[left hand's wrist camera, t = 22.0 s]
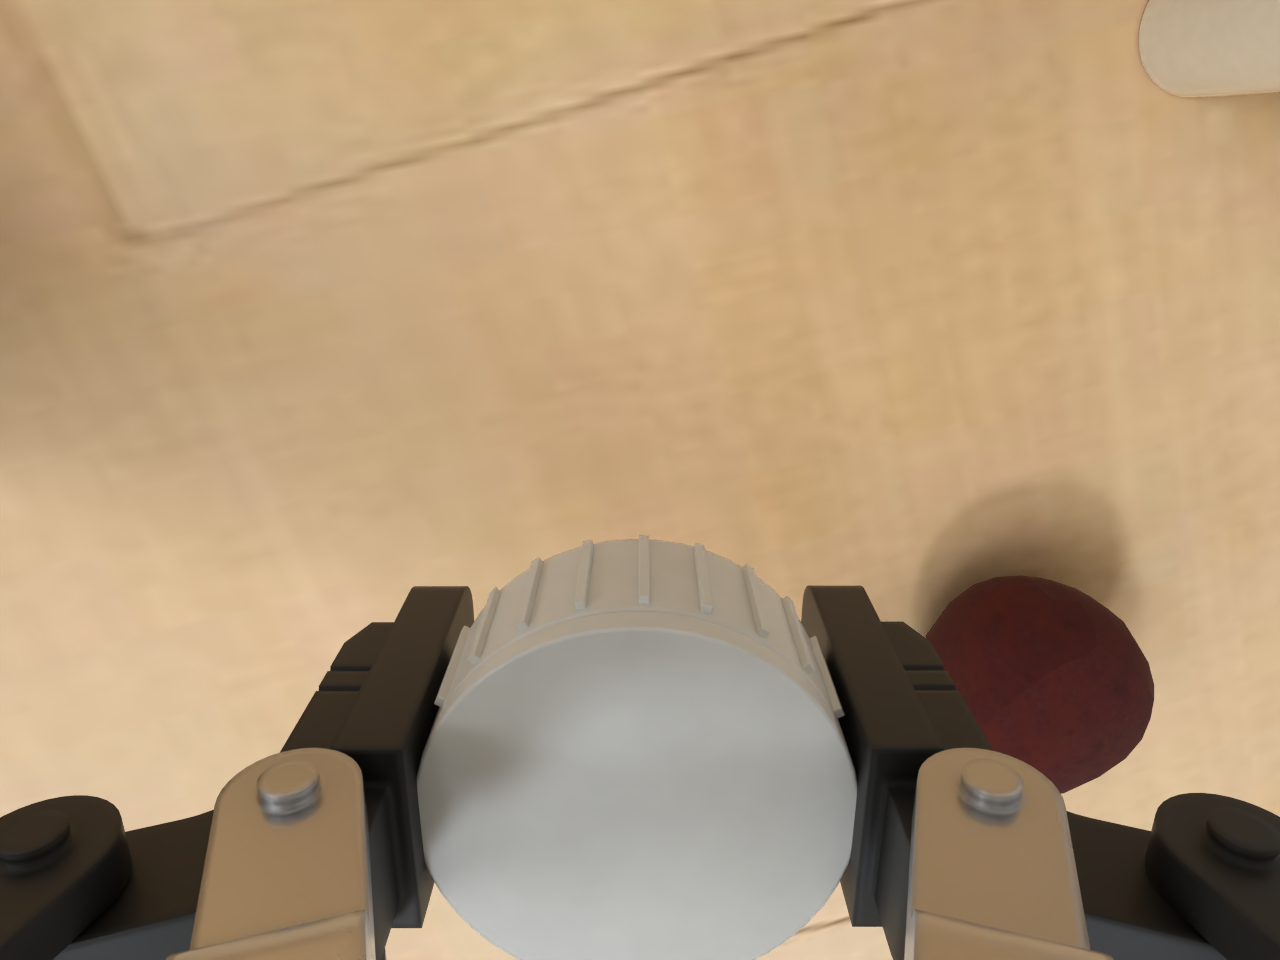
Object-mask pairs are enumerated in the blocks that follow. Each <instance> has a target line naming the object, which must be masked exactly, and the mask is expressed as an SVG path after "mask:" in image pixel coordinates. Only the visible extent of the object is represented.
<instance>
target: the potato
mask: <svg viewBox="0 0 1280 960" xmlns="http://www.w3.org/2000/svg"><path fill="white" fill-rule="evenodd" d="M926 639H927V640H928V641H930V642H931V644H932V646H933V647H934V649H935V651H936V653H937V654H938V656H939V658H940V659H941V661H942V663H943V665H944V670H947V672H948V673H949V675H950V677H951V678H952V680H953V682H954V684H955V689H956V690H958V691H959V692H960V694H961V696H962V697H963V699H964V701H965V703H966V704H967V706H968V708H969V710H970V711H971V713H972V715H973V716H974V718H975V720H976V722H977V723H978V725H979V727H980V729H981V730H982V732H983V734H984V735H985V737H986V739H987V741H988V742H989V744H990V746H991V748H992V749H993V751H995V752H999V753H1002V754H1006V755H1009V756H1011V757H1014V758H1016V759H1018V760H1021V761H1023V762H1025V763H1027V764H1028V765H1030V766H1032V767H1034V768H1035V769H1036V770H1038V771H1039V772H1041V773H1042V774H1043V775H1045V776H1046V777H1047V778H1048V779H1049V780H1050V781H1051V782H1052V783H1053V784H1054V785H1055V787H1056V788H1057V789H1058V790H1059V792H1060V794H1061V793H1065V792H1067V791H1069V790H1072V789H1074V788H1076V787H1078V786H1080V785H1082V784H1084V783H1087V782H1089V781H1091V780H1093V779H1095V778H1097V777H1099V776H1101V775H1102V774H1104V773H1105V772H1107V771H1108V770H1110V769H1111V768H1112V767H1114V766H1115V765H1117V764H1118V763H1120V762H1121V761H1123V760H1124V759H1125V758H1126V757H1127V756H1128V755H1129V754H1130V753H1131V751H1132V750H1133V749H1134V748H1135V747H1136V745H1137V744H1138V743H1139V742H1140V741H1141V740H1142V737H1143V735H1144V733H1145V730H1146V728H1147V725H1148V723H1149V721H1150V718H1151V713H1152V707H1153V702H1154V683H1153V679H1152V675H1151V671H1150V667H1149V663H1148V661H1147V660H1146V658H1145V656H1144V654H1143V653H1142V651H1141V649H1140V648H1139V646H1138V644H1137V642H1136V641H1135V639H1134V638H1133V636H1132V634H1131V633H1130V631H1129V630H1128V628H1127V627H1126V625H1125V623H1124V622H1123V621H1122V620H1121V619H1119V618H1118V617H1117V616H1116V615H1115V614H1113V613H1112V612H1111V611H1110V610H1109V609H1107V608H1106V607H1104V606H1103V605H1101V604H1100V603H1098V602H1097V601H1095V600H1094V599H1092V598H1091V597H1090V596H1088V595H1086V594H1084V593H1082V592H1081V591H1079V590H1077V589H1075V588H1072V587H1069V586H1066V585H1063V584H1060V583H1057V582H1054V581H1051V580H1047V579H1042V578H1035V577H1027V576H1009V577H996V578H993V579H990V580H987V581H984V582H981V583H978V584H975V585H973V586H972V587H970V588H969V589H968V590H966V591H965V592H964V593H962V594H961V595H960V596H958V597H957V598H956V599H954V600H953V601H952V602H950V603H949V604H948V606H947V607H946V609H945V610H944V611H943V613H942V614H941V616H940V617H939V618H938V620H937V621H936V623H935V624H934V625H933V627H932V628H931V630H930V631H929V633H928V634H927V635H926Z"/></svg>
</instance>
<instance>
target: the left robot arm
mask: <svg viewBox="0 0 1280 960" xmlns="http://www.w3.org/2000/svg"><path fill="white" fill-rule="evenodd" d="M473 623H474V612H473V601H472V595H471V591H470V588H469V587H468V586H415V587H413V588H412V589H411V591H410V592H409V594H408V596H407V598H406V600H405V602H404V604H403V606H402V608H401V610H400V612H399V614H398V616H397V618H396V620H395V622H372V623H371V624H369V625H368V626H367V627H365V628H364V629H363V630H361V631H360V632H359V633H357V634H356V635H354V636H353V637H352V638H350V639H349V640H348V641H346V642H345V643H344V644H343V646H342V648H341V650H340V651H339V653H338V655H337V656H336V658H335V660H334V661H333V663H332V665H331V670H330V671H328V672H327V673H326V675H325V677H324V679H323V680H322V682H321V684H320V685H319V691H316V692H315V694H314V696H313V697H312V699H311V701H310V702H309V704H308V706H307V707H306V709H305V711H304V713H303V714H302V716H301V718H300V719H299V721H298V723H297V724H296V726H295V728H294V730H293V731H292V733H291V735H290V736H289V738H288V740H287V741H286V743H285V745H284V747H283V748H282V750H281V752H280V753H278V754H274V755H271V756H269V757H266V758H264V759H262V760H259V761H257V762H255V763H253V764H252V765H250V766H248V767H246V768H245V769H244V770H242V771H241V772H239V773H238V774H237V775H235V776H234V777H233V778H232V779H231V780H230V781H229V782H228V783H227V784H226V785H225V787H224V788H223V789H222V790H221V792H220V794H219V796H218V797H217V800H216V803H215V807H214V810H212V811H209V812H206V813H203V814H200V815H198V816H194V817H190V818H186V819H182V820H178V821H173V822H169V823H164V824H160V825H155V826H150V827H146V828H141V829H137V830H132V831H128V832H125V830H124V826H123V822H122V818H121V815H120V813H119V810H118V809H117V808H116V807H115V806H114V805H113V804H112V803H110V802H109V801H107V800H104V799H101V798H98V797H92V796H65V797H58V798H53V799H48V800H44V801H41V802H37V803H34V804H31V805H28V806H25V807H23V808H20V809H18V810H15V811H13V812H11V813H9V814H7V815H4V816H3V817H1V818H0V960H387V959H386V951H385V945H386V942H387V939H388V936H389V933H390V929H391V928H422V925H423V921H424V918H425V914H426V910H427V907H428V903H429V900H430V896H431V892H432V889H433V885H434V880H433V878H432V876H431V875H430V873H429V871H428V868H427V866H426V863H425V857H424V850H423V840H422V831H421V821H420V812H419V803H418V793H417V780H416V779H417V772H418V768H419V764H420V761H421V757H422V754H423V751H424V748H425V745H426V743H427V740H428V737H429V735H430V731H431V729H432V726H433V723H434V720H435V717H436V715H437V712H438V709H439V706H437V705H435V704H434V702H435V700H436V697H437V694H438V692H439V689H440V686H441V684H442V681H443V678H444V675H445V673H446V670H447V667H448V665H449V662H450V659H451V657H452V654H453V651H454V648H455V646H456V643H457V640H458V638H459V635H460V632H461V630H462V629H463V627H464V626H467V627H469V628H471V626H472V624H473ZM801 623H802V625H803V626H804V628H805V630H806V632H807V634H808V636H809V638H811V637H814V636H816V637H817V639H818V641H819V644H820V646H821V649H822V652H823V655H824V658H825V661H826V663H827V666H828V669H829V672H830V675H831V677H832V680H833V683H834V686H835V689H836V692H837V694H838V697H839V700H840V703H841V706H842V709H843V711H844V714H845V716H843V717H840V718H838V720H839V723H840V726H841V729H842V732H843V735H844V738H845V741H846V744H847V747H848V750H849V753H850V756H851V758H852V761H853V764H854V767H855V771H856V777H857V799H856V809H855V818H854V828H853V838H852V847H851V854H850V860H849V863H848V865H847V867H846V869H845V871H844V873H843V875H842V877H841V879H840V882H841V886H842V890H843V894H844V897H845V901H846V905H847V908H848V912H849V916H850V920H851V923H852V927H883V929H884V932H885V936H886V939H887V942H888V945H889V949H890V952H891V955H892V957H893V960H1280V817H1279V816H1277V815H1275V814H1273V813H1271V812H1269V811H1267V810H1265V809H1262V808H1260V807H1258V806H1255V805H1253V804H1250V803H1247V802H1245V801H1241V800H1238V799H1234V798H1231V797H1226V796H1221V795H1216V794H1207V793H1188V794H1181V795H1177V796H1174V797H1171V798H1169V799H1167V800H1166V801H1164V802H1163V803H1162V804H1161V805H1160V806H1159V807H1158V810H1157V812H1156V815H1155V819H1154V823H1153V827H1152V831H1147V830H1142V829H1138V828H1133V827H1129V826H1124V825H1120V824H1115V823H1110V822H1106V821H1101V820H1097V819H1092V818H1088V817H1084V816H1080V815H1077V814H1074V813H1071V812H1068V811H1066V807H1065V803H1064V800H1063V797H1062V796H1061V794H1060V792H1059V790H1058V789H1057V788H1056V787H1055V785H1054V784H1053V783H1052V782H1051V781H1050V780H1049V779H1048V778H1047V777H1046V776H1045V775H1043V774H1042V773H1041V772H1039V771H1038V770H1036V769H1035V768H1034V767H1032V766H1030V765H1028V764H1027V763H1025V762H1023V761H1021V760H1018V759H1016V758H1014V757H1011V756H1009V755H1006V754H1002V753H999V752H995V751H993V749H992V748H991V746H990V744H989V742H988V741H987V739H986V737H985V735H984V734H983V732H982V730H981V729H980V727H979V725H978V723H977V722H976V720H975V718H974V716H973V715H972V713H971V711H970V710H969V708H968V706H967V704H966V703H965V701H964V699H963V697H962V696H961V694H960V692H959V691H958V690H956V689H955V684H954V682H953V680H952V678H951V677H950V675H949V673H948V672H947V670H944V665H943V663H942V661H941V659H940V658H939V656H938V654H937V653H936V651H935V649H934V647H933V646H932V644H931V642H930V641H928V640H927V639H926V638H924V637H923V636H922V635H920V634H919V633H918V632H916V631H915V630H913V629H912V628H911V627H909V626H908V625H907V624H905V623H904V622H881V621H880V619H879V617H878V615H877V613H876V611H875V609H874V607H873V605H872V603H871V601H870V599H869V597H868V595H867V593H866V591H865V590H864V588H863V587H862V586H807V587H806V589H805V592H804V597H803V606H802V619H801Z"/></svg>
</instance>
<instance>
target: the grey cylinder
mask: <svg viewBox="0 0 1280 960" xmlns="http://www.w3.org/2000/svg"><path fill="white" fill-rule="evenodd" d="M1139 52H1140V57H1141V61H1142V63H1143V66H1144V69H1145V70H1146V72H1147V74H1148V76H1149V77H1150V78H1151V80H1152V81H1153V82H1154V83H1155V84H1156V85H1157V86H1158V87H1159V88H1161V89H1162V90H1164V91H1165V92H1167V93H1170V94H1172V95H1175V96H1179V97H1185V98H1200V97H1215V96H1231V95H1246V94H1262V93H1277V92H1280V0H1149V2H1148V4H1147V6H1146V8H1145V11H1144V14H1143V17H1142V20H1141V24H1140V30H1139Z"/></svg>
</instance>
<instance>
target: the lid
mask: <svg viewBox="0 0 1280 960" xmlns="http://www.w3.org/2000/svg"><path fill="white" fill-rule="evenodd" d="M434 704H435V705H437V706H439V709H438V712H437V715H436V717H435V720H434V723H433V726H432V729H431V731H430V735H429V737H428V740H427V743H426V745H425V748H424V751H423V754H422V757H421V761H420V764H419V768H418V772H417V779H416V780H417V793H418V803H419V812H420V821H421V831H422V840H423V850H424V857H425V863H426V866H427V868H428V871H429V873H430V875H431V876H432V878H433V880H434V882H435V883H436V885H437V887H438V889H439V890H440V892H441V893H442V895H443V896H444V897H445V899H446V900H447V901H448V902H449V904H450V905H451V906H452V908H453V909H454V910H455V911H456V912H457V913H458V914H459V915H460V916H461V917H462V918H463V919H464V920H465V921H466V922H467V923H468V924H469V925H470V926H471V927H472V928H473V929H474V930H475V931H476V932H478V933H479V934H480V935H482V936H483V937H484V938H485V939H487V940H488V941H489V942H491V943H492V944H493V945H495V946H497V947H498V948H500V949H502V950H503V951H505V952H507V953H508V954H510V955H512V956H513V957H515V958H517V959H519V960H755V959H757V958H759V957H761V956H763V955H765V954H767V953H768V952H770V951H771V950H773V949H774V948H776V947H777V946H779V945H780V944H782V943H783V942H785V941H786V940H788V939H789V938H790V937H792V936H793V935H794V934H795V933H796V932H797V931H799V930H800V929H801V928H802V927H803V926H805V925H806V924H807V923H808V922H809V921H810V920H811V919H812V917H813V916H814V915H815V914H816V913H817V912H818V911H819V910H820V909H821V908H822V907H823V905H824V904H825V903H826V901H827V900H828V898H829V897H830V896H831V894H832V893H833V891H834V890H835V888H836V887H837V885H838V883H839V881H840V879H841V877H842V875H843V873H844V871H845V869H846V867H847V865H848V863H849V860H850V854H851V847H852V838H853V828H854V818H855V809H856V799H857V777H856V771H855V767H854V764H853V761H852V758H851V756H850V753H849V750H848V747H847V744H846V741H845V738H844V735H843V732H842V729H841V726H840V723H839V720H838V718H840V717H843V716H845V714H844V711H843V709H842V706H841V703H840V700H839V697H838V694H837V692H836V689H835V686H834V683H833V680H832V677H831V675H830V672H829V669H828V666H827V663H826V661H825V658H824V655H823V652H822V649H821V646H820V644H819V641H818V639H817V637H816V636H814V637H811V638H809V636H808V634H807V632H806V630H805V628H804V626H803V625H802V623H801V622H800V620H799V619H798V616H797V613H796V610H795V607H794V604H793V601H792V600H791V599H790V598H789V597H788V596H786V597H785V598H784V599H782V598H781V597H780V596H779V595H778V594H777V593H776V592H775V591H774V590H773V589H772V588H771V587H770V586H768V585H767V584H766V583H765V582H763V581H762V580H761V579H759V578H758V577H757V576H756V575H755V572H754V568H753V567H751V566H749V565H748V564H746V565H745V566H744V567H741V566H739V565H738V564H736V563H734V562H732V561H730V560H728V559H725V558H723V557H721V556H718V555H716V554H714V553H711V552H709V551H706V550H705V549H704V545H702V544H698V543H695V545H694V547H692V546H688V545H685V544H680V543H673V542H667V541H661V540H649V536H648V535H639V539H627V540H615V541H605V542H600V543H595V544H593V541H592V540H588V541H584V542H583V546H581V547H578V548H575V549H572V550H569V551H566V552H563V553H560V554H557V555H555V556H553V557H551V558H549V559H547V560H545V561H543V562H542V560H541V559H540V558H537V559H536V560H534V561H532V563H531V567H530V569H528V570H527V571H525V572H524V573H522V574H520V575H519V576H517V577H516V578H514V579H513V580H512V581H511V582H510V583H508V584H507V585H506V586H505V587H504V588H503V589H502V590H499V589H498V588H496V587H495V588H494V589H493V590H492V591H491V592H490V594H489V597H488V600H487V603H486V606H485V607H484V609H483V610H482V611H481V612H480V614H479V615H478V617H477V618H476V620H475V621H474V623H473V624H472V626H471V628H469V627H467V626H464V627H463V629H462V630H461V632H460V635H459V638H458V640H457V643H456V646H455V648H454V651H453V654H452V657H451V659H450V662H449V665H448V667H447V670H446V673H445V675H444V678H443V681H442V684H441V686H440V689H439V692H438V694H437V697H436V700H435V702H434Z"/></svg>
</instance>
